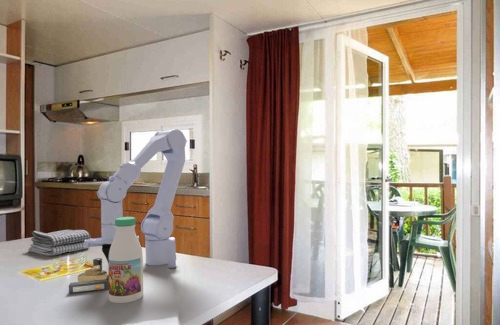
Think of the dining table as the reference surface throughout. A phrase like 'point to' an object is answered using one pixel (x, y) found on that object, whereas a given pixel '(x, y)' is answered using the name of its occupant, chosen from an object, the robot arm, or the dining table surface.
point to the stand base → (88, 286)
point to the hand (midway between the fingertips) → (112, 270)
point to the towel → (58, 242)
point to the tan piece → (93, 272)
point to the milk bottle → (125, 263)
